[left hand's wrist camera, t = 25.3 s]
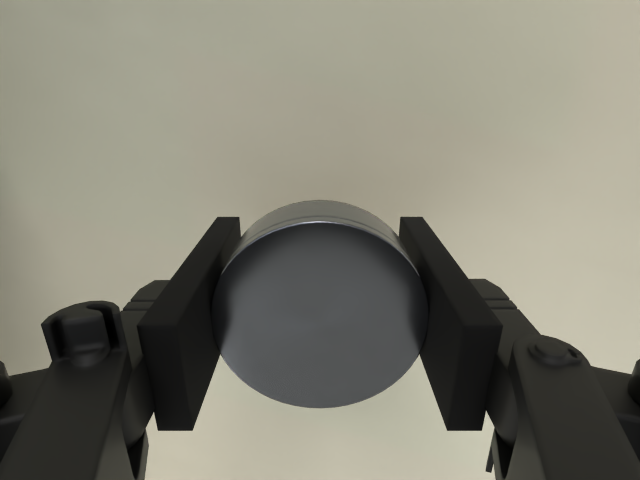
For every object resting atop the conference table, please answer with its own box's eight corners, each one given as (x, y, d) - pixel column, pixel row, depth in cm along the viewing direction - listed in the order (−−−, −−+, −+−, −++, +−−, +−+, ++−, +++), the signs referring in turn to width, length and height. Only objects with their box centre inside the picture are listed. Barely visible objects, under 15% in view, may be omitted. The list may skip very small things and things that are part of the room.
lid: (375, 166, 10) (386, 183, 9) (437, 331, 12) (456, 370, 11) (190, 244, 11) (167, 273, 10) (275, 387, 13) (269, 432, 12)
